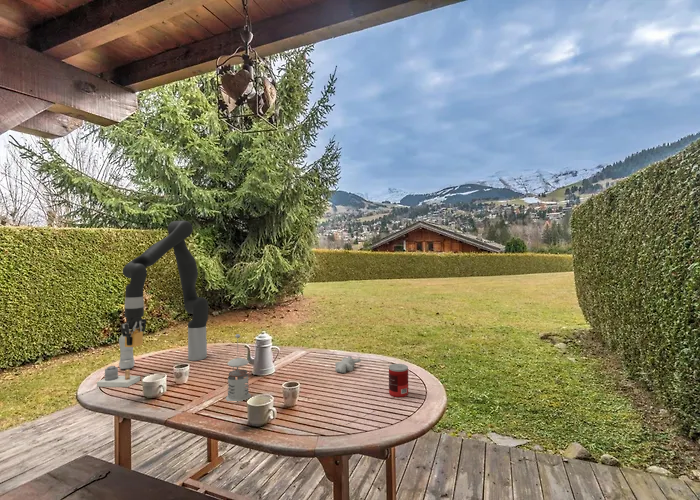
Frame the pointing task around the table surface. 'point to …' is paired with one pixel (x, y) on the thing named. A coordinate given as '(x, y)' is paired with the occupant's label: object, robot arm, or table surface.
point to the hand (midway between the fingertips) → (134, 343)
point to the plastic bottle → (125, 354)
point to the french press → (238, 380)
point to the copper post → (127, 374)
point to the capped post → (111, 373)
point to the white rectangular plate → (118, 382)
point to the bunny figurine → (346, 364)
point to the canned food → (398, 380)
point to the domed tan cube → (135, 339)
